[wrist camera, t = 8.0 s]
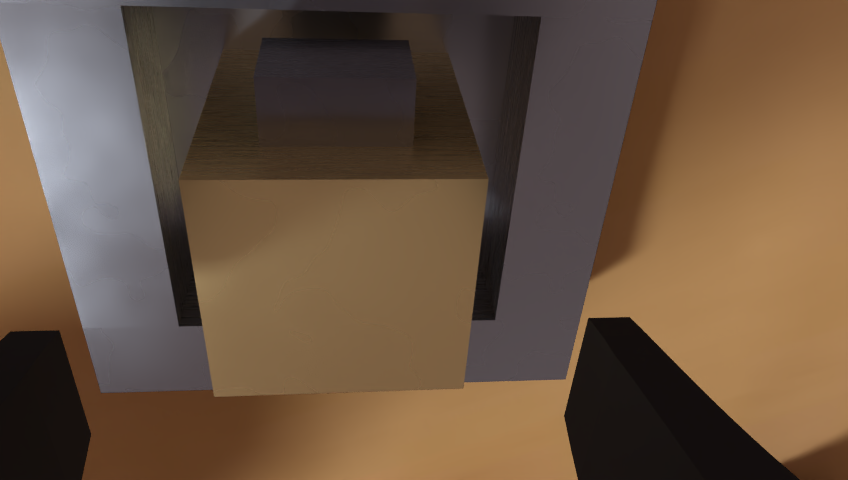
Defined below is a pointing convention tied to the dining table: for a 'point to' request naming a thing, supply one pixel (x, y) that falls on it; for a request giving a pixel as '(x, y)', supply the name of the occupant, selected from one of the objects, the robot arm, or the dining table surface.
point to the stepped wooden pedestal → (334, 219)
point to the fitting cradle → (320, 19)
